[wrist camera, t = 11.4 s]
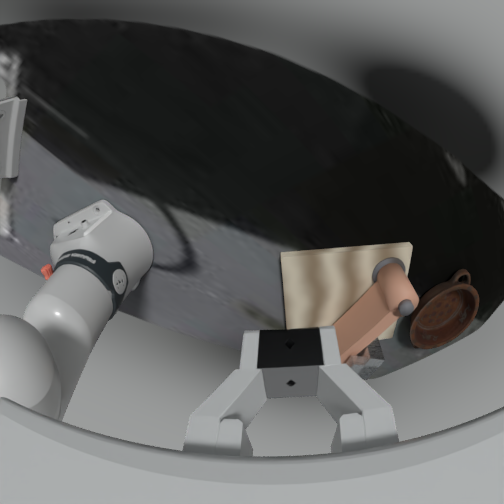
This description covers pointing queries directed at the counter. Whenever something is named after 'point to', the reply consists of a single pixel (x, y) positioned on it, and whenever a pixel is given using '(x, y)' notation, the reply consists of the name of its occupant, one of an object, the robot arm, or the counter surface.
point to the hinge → (11, 134)
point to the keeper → (367, 360)
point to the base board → (334, 281)
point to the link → (375, 311)
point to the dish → (444, 312)
